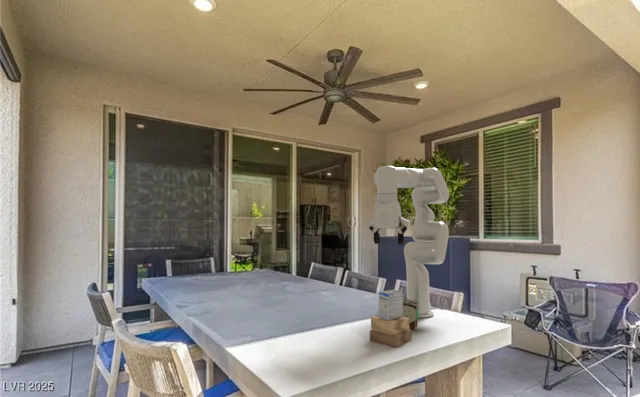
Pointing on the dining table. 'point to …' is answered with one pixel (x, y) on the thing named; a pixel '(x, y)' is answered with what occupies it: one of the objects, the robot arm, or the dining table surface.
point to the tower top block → (390, 325)
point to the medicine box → (390, 304)
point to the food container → (411, 313)
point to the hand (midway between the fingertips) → (388, 244)
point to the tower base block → (390, 338)
